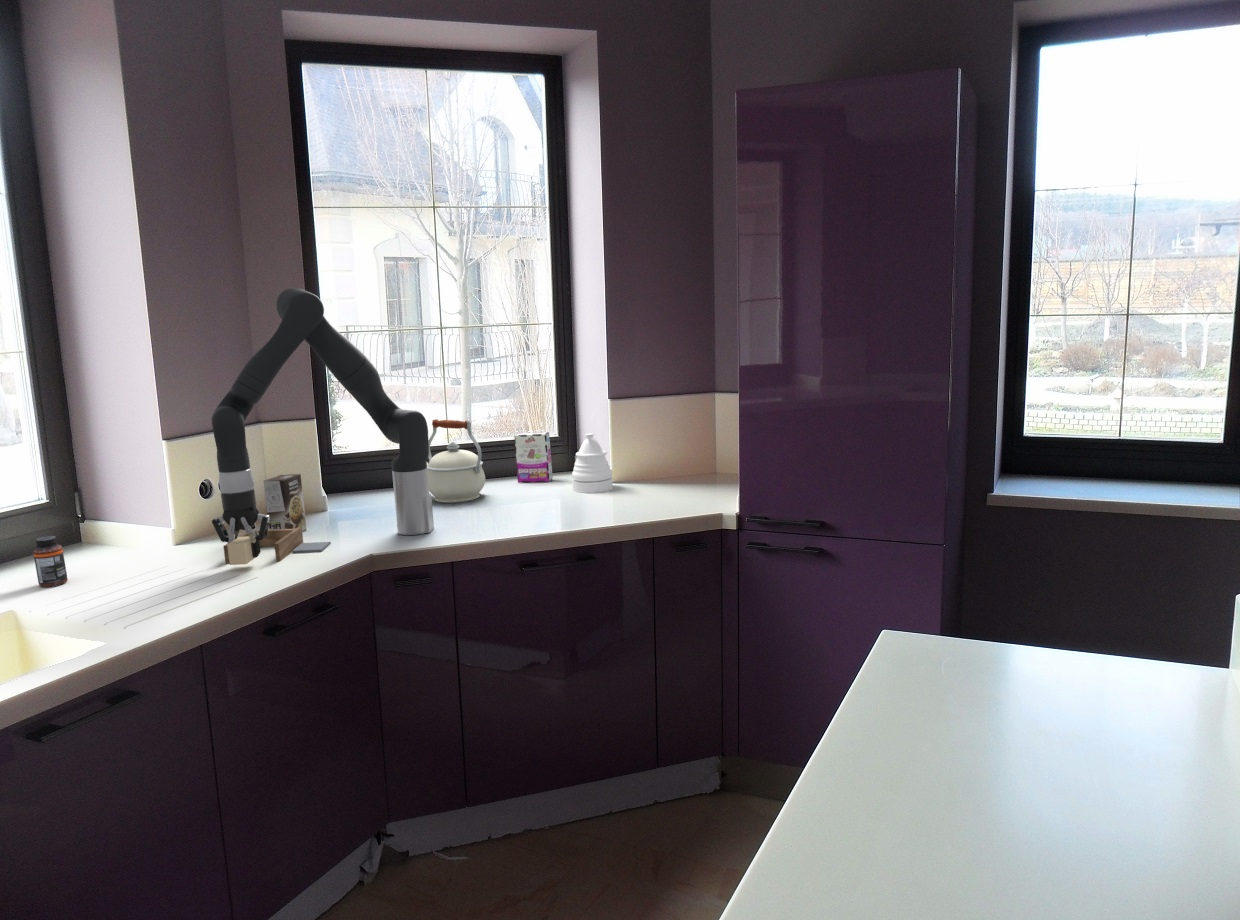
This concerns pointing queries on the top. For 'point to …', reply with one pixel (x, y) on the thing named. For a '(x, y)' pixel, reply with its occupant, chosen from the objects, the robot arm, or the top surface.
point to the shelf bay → (277, 542)
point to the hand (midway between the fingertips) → (246, 556)
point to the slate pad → (311, 547)
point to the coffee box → (285, 502)
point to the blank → (240, 551)
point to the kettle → (455, 468)
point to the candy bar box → (533, 457)
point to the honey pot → (591, 468)
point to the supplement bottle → (49, 562)
